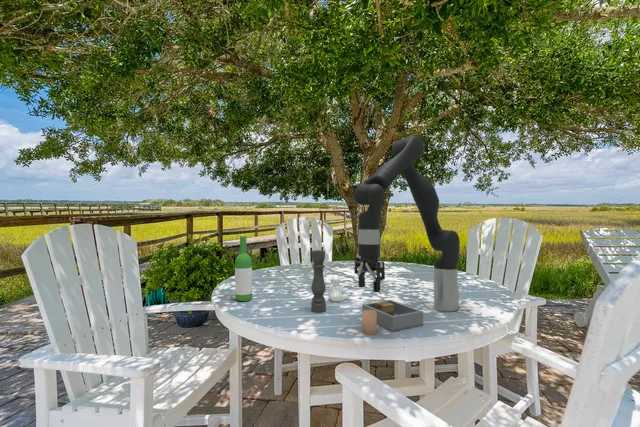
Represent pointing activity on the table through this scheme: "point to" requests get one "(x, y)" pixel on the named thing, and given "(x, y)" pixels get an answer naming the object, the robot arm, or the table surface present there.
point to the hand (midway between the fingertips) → (368, 289)
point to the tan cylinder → (369, 322)
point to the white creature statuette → (336, 290)
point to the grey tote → (397, 316)
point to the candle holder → (318, 282)
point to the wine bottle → (243, 273)
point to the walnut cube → (385, 307)
